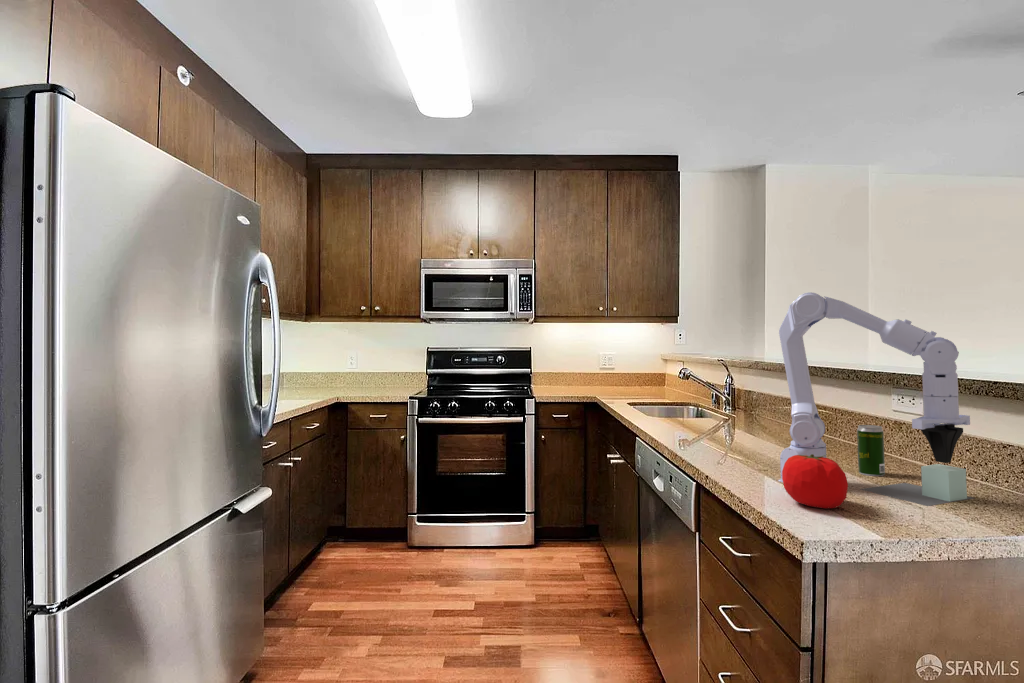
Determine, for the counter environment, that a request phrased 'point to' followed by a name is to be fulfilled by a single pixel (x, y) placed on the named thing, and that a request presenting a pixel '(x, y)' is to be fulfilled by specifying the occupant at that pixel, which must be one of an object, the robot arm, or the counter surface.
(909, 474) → the counter surface
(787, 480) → the tomato
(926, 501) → the rubber mat
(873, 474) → the beer can
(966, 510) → the counter surface
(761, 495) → the counter surface
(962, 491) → the pale green block
